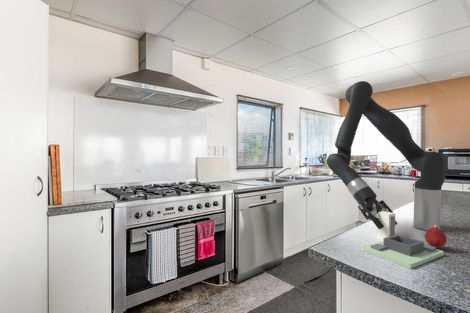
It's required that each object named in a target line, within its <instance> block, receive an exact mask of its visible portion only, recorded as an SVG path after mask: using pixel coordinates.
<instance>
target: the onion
mask: <svg viewBox="0 0 470 313" xmlns="http://www.w3.org/2000/svg"><path fill="white" fill-rule="evenodd" d="M424 239H425V241H426V243H427V245H429V246H433V247H436V249H437V250H438V249H439V248H442V247H444V246H445V245H446V243H447V242H448V238H447V236H446V234H445V232H444V231H443V230H442V229H441V228H440V229H439V228H438V227H437V225H434V227H433V228H431V229H429V230H425V233H424Z"/></svg>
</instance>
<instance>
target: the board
mask: <svg viewBox="0 0 470 313" xmlns="http://www.w3.org/2000/svg"><path fill="white" fill-rule="evenodd" d="M363 252H366V253H367V254H371V255H372V256H376V257H379V258H381V259H384V260H387V261H389V262H392V263H393V264H397V265H399V266H402V267H404V268H407V269H409V270H410V269H414V268H416V267H419V266H420V265H423V264H426V263H428V262H431V261H433V260H436V259H438V258H441V257H443V256H445V251H443V250H440V249H438V248H437V249H436V247H433V246H430V245H429V244H425V242H424V241H422V240H417V239H414V238H410V237H407V236H404V235H401V234H395V235H394V236H390V237H386V238H384V240H383V241H380V242H377V243H374V244H370V245H367V246H364V247H363Z"/></svg>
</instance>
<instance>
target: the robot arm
mask: <svg viewBox="0 0 470 313" xmlns="http://www.w3.org/2000/svg"><path fill="white" fill-rule="evenodd" d="M373 90H374V89H373V85H371V84H370V82H368V81H366V80H365V81H364V80H362V81H361V80H360V81H357V82H355V83H353V84H352V85H349V87H348V88H347V89H346V90H345V96H344V97H345V99H346V101H347V103H349V105H348V108H347V113H346V114H345V117H344V119H343V121H342V123H341V125H340V127H339V130H338V133H337V135H336V140H335V143H334V146H335V147H336V149H337V153H331V154H329V155H328V156H327V158H326V165H327V167H328V168H329V169H330V170H331V171H332V172H333V173H334V174H335V175H336V176H337V177H338V178H339V179H341V182H342V183H343V184H344V185H345V187H346V188H347V189H348V192H350V194H351V196H352V197H353V198H354V200H355V201H356V202H357V204H358V206H357V208H358V210H359V211H360V212H361V214H362V215H363V217H364V218H365V220H369V221H372V222H373V224H374V225H375V226H376V227H377V230H378V229H382V228H383V227H384V225H383V224H382V222H381V221H380V220H379V218H378V216H377V215H378V212H382V211H386V212H391V213H394V212H393V210H392V209H391V207H389V206H388V204H387V203H386V202H385V200H380V201H378V199H377V196H378V195H377V194H376V193H375V191H374V190H373V189H372V188H371V187H370V185H369V184H368V183H367V181H365V179H363V177H362V176H361V175H360V174H359V173H358V172H357V171H356V170H355V169H354V168H352V167H350V163H351V158H352V146H353V143H354V140H355V137H356V133H357V130H358V127H359V124H360V121H361V119H362V117H363V116H364V117H365V118H366V119H367V120H368V121H369V122H370V123H371V124H372V125H373V127H375V129H376V130H377V131H378V132H379V133H380V134H381V135H382V136H383V137H384V138H386V140H387V141H388V142H390V143H391V144H392V146H393V147H394V148H395V149H396V150H398V151H399V152H400V153H401V155H403V157H404V158H405V160H407V162H408V163H409V164H410V166H411V167H412V168H413V170H416V171H417V172H420V178H418V180H415V182H414V185H413V186H414V188H413V189H414V190H413V191H414V193H413V196H414V197H413V227H414V228H416V229H419V230H423V231H427V230H429V229H431V228H433V227H434V225H437V227H438V228H439V229H440V230H441V218H442V215H441V214H442V188H443V184H444V183H445V179H446V178H445V176H446V159H445V157H444V156H443V154H441V153H440V152H438V151H425V149H423V148H422V147H421V146H420V145H418V144H417V143H416V142H415V140H414V139H413V137H412V136H413V135H412V134H411V131H410V129H409V127H408V126H407V124H406V123H405V122H404V121H403V120H402V119H401V117H399V116H398V115H396V114H395V113H394V112H393V111H391V110H389V109H387V108H386V107H383V106H382V105H380V104H378V103H377V102H376V101H375V100H374V99H373V98H372V95H373ZM396 225H398V221H396V219H395V226H396Z"/></svg>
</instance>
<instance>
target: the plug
mask: <svg viewBox="0 0 470 313" xmlns="http://www.w3.org/2000/svg"><path fill="white" fill-rule="evenodd" d="M377 215H378V216H377V217H378V218H379V220H380V221H381V222H382V224H383V225H384V227H383V228H382V229H378V228H377V239H378V238H379V239H378V240H381V239H382V241H384V238H386V237H390V236H394V235H396V225H395V220H396V212H393V213H391V212H386V211H382V212H378V214H377Z"/></svg>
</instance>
